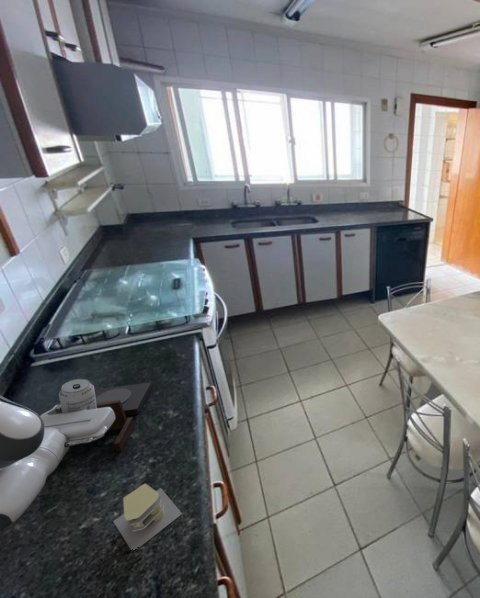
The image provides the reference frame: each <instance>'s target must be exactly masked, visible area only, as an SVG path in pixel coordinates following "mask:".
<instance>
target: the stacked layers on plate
mask: <svg viewBox="0 0 480 598" xmlns="http://www.w3.org/2000/svg"><path fill="white" fill-rule="evenodd" d="M122 499H123V500H122V501H123V513H122V514H121V515H120V516H118V517H117V518H115V519H114V520H113V521H112V522H113V523H114V525H115V527H116V529H117V530H118V532H119V533H120V534H121V537H122V538H123V540H124V541H125V543H126V544H127V546H128V547H129V549H130V551H131V550H132V549H133V550H135V549H137V550H138V549H139V548H141V547H142V546H144V544H146V543H147V542H148V541H150V540H151V539H152V538H153V537H155V536H156V535H157V534H159V533H160V532H161V531H162V530H164V529H165V528H166V527H168V526H169V525H170V524H171V523H173V522H174V521H175V520H176V519H178V518H179V517H180V516H181V515H183V513H182V512H181V510H180V509H179V508H178V507H177V506H176V504H175V503H174V502H173V501H172V499H171V498H170V497H169V495H167V494H166V492H165V491H164V490H163V489H162V488H161V487H160V488H158V489H156V490H155V489H154V488H153V487H151V486H150V485H149V484H147V483H144V484H143V483H142V485H140V486H138V488H136V489H134V490H133V491H132V492H130V493H128V494H127V495H126V496H124V497H123V498H122ZM137 547H139V548H137Z"/></svg>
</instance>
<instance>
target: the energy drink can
mask: <svg viewBox="0 0 480 598" xmlns="http://www.w3.org/2000/svg"><path fill="white" fill-rule="evenodd" d="M58 398H59V399H58V400H59V404H60V405H61V410H62V413H68V412H76V411H79V410H82V409H84V408H86V409H87V410H90V409H97V405H96V397H95V386H94V384H92V383H91V381H90V380H89V379H87V378H75V379H72V380H68V381H66V382H65V383H63V384H62V386H61V389H60V391H59V392H58Z"/></svg>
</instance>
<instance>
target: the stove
mask: <svg viewBox="0 0 480 598" xmlns="http://www.w3.org/2000/svg"><path fill="white" fill-rule="evenodd" d="M152 389H153V385H152V382H150V381H149V382H143V383H142V382H141V383H135V384H126V385H118V386H111V387H104V388H96V389H95V388H94V390H95V397H96V403H101V402H108V401H115V400H120V402H121V404H122V407H123V410H124V413H125V415H126V417H128V416H134V415H139V414H140V412H141V410H142V408H143V406H144V405H145V402H146V401H147V398H148V396H149V395H150V392H151V391H152Z"/></svg>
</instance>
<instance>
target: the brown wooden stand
mask: <svg viewBox="0 0 480 598" xmlns="http://www.w3.org/2000/svg"><path fill="white" fill-rule="evenodd" d="M96 405H97V408H104V407H110V408H111V409H112V410H113V411H114V414H115V421H114V422H113V424H112V425H111V426H110V428H109V429H108V430H107V431H106V432H110V431H117V430H120V431H119V433H118V435H117V437H116V439H115V440H114V442H113V446H114V449H115V451H116V453H122V452H123V450H124V448H125V446H126V444H127V442H128V440H129V439H130V436H131V434H132V432H133V430H134V429H135V427H136V424H135V421H134V418H133V417H127V416H126V415H125V413H124V410H123V407H122V404H121V402H120V400H115V401H108V402H101V403H96Z"/></svg>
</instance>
